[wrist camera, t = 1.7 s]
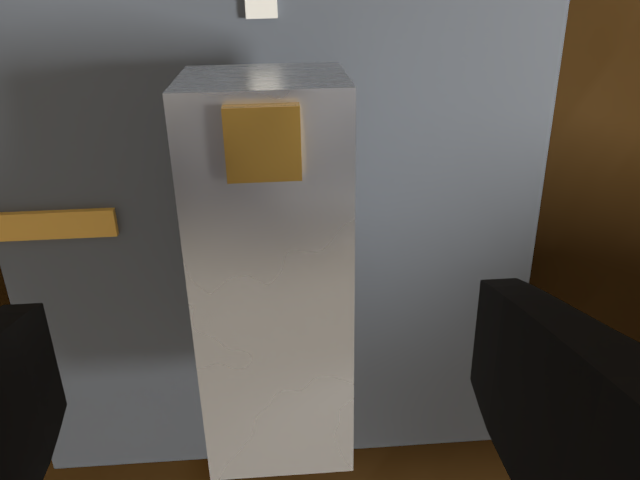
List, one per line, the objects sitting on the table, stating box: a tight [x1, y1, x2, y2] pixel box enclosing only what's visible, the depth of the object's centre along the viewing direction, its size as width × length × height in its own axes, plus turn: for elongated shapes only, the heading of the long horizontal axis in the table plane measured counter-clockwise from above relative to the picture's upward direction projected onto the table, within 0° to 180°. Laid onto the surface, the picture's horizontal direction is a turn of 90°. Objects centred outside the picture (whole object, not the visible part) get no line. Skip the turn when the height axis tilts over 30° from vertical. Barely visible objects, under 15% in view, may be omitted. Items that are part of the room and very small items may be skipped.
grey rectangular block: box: [162, 62, 356, 480], centre depth 13 cm, size 8×3×5 cm, turn 1°
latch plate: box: [0, 0, 570, 469], centre depth 16 cm, size 16×14×2 cm
